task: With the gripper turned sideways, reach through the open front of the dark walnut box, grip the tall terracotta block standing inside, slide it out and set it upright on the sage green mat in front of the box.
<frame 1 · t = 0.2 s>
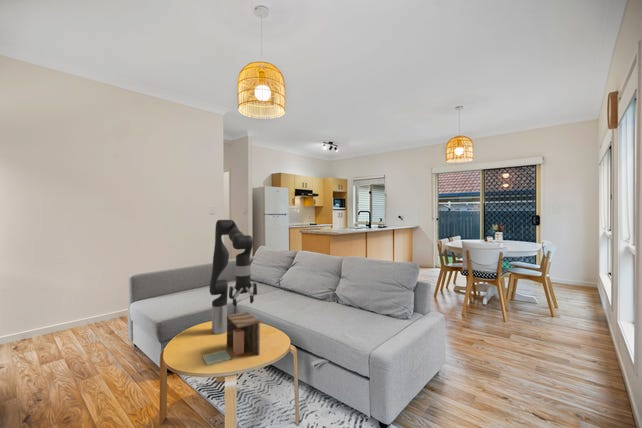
hand: (243, 304, 152), 28 cm above the table, tool pointing down, fingers open, 8 cm apart
terracotta block: (238, 352, 159), on the table
sage mat: (216, 357, 153), on the table
walnut box: (237, 352, 159), on the table
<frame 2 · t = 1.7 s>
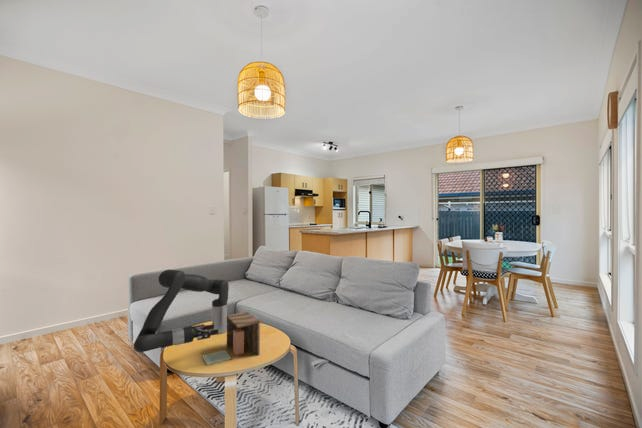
hand: (215, 328, 152), 16 cm above the table, tool horizontal, fingers open, 8 cm apart
nothing on the table moved.
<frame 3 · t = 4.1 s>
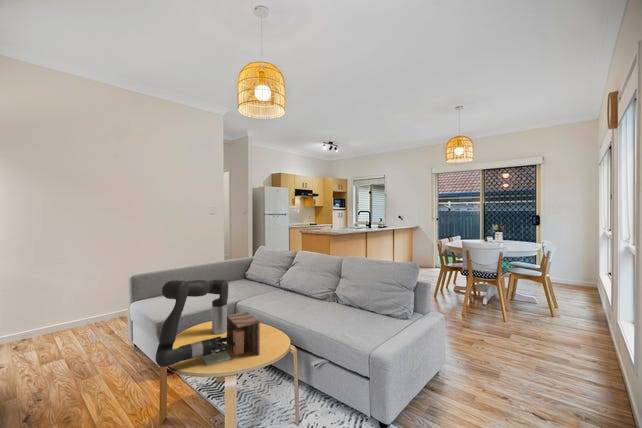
hand: (232, 341, 157), 7 cm above the table, tool horizontal, fingers open, 8 cm apart
nothing on the table moved.
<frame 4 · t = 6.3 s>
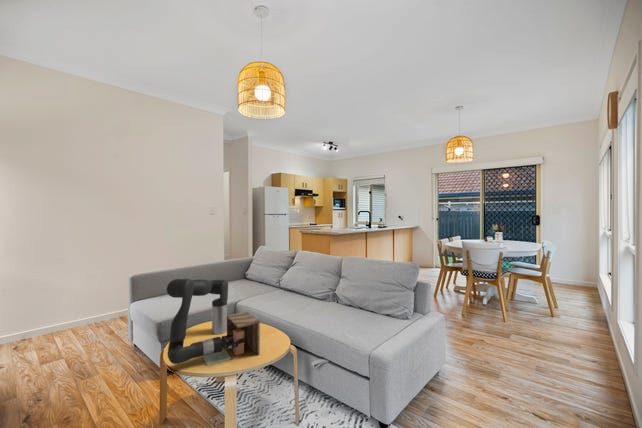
hand: (243, 338, 161), 7 cm above the table, tool horizontal, fingers closed on terracotta block, 4 cm apart
terracotta block: (238, 352, 159), on the table, touching gripper
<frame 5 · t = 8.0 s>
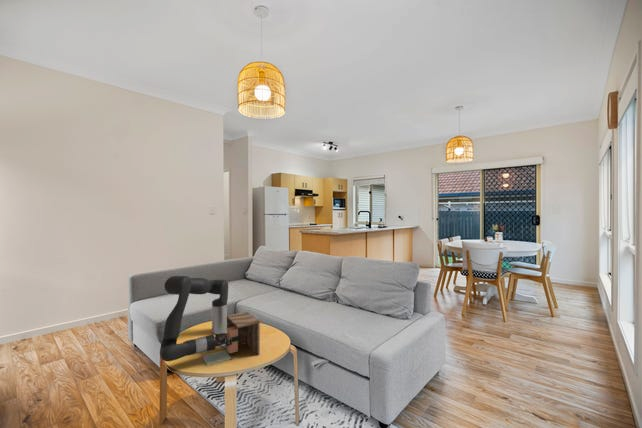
hand: (237, 336, 159), 9 cm above the table, tool horizontal, fingers closed on terracotta block, 4 cm apart
terracotta block: (232, 350, 157), point 2 cm above the table, touching gripper
when the fingers open (8 cm above the table, at t = 10.1 s): terracotta block stays where it is, resting on sage mat.
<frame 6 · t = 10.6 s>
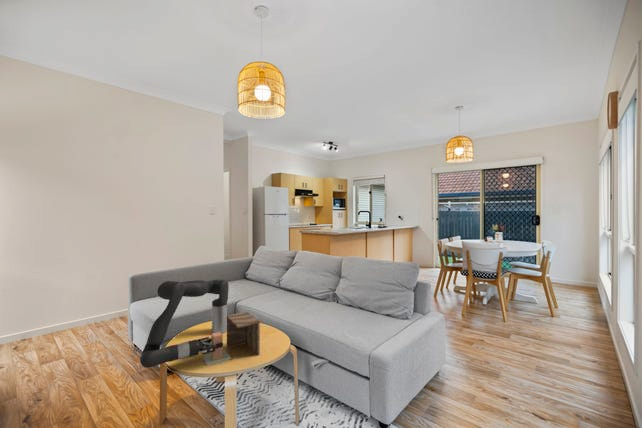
hand: (220, 341, 154), 8 cm above the table, tool horizontal, fingers open, 8 cm apart
terracotta block: (216, 357, 153), point 1 cm above the table, touching sage mat
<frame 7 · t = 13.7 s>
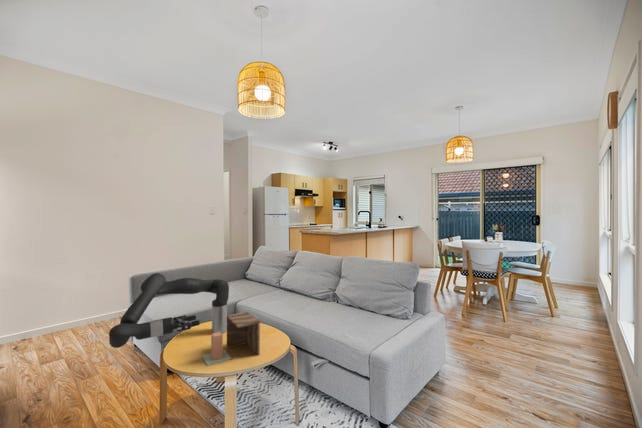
hand: (197, 319, 147), 22 cm above the table, tool horizontal, fingers open, 8 cm apart
nothing on the table moved.
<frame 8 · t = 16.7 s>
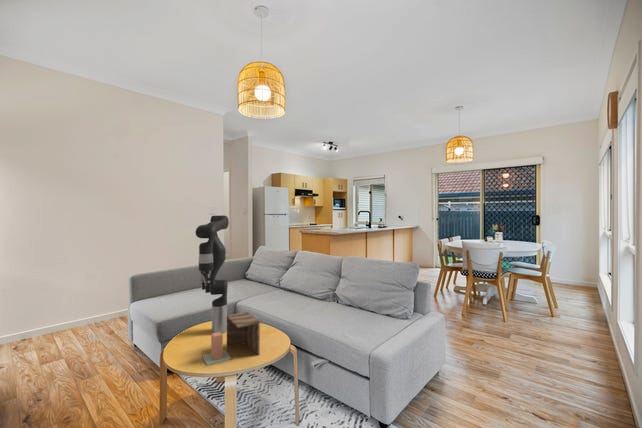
hand: (205, 291, 161), 33 cm above the table, tool pointing down, fingers open, 8 cm apart
nothing on the table moved.
at the end: terracotta block inside the target area on the sage mat (0.6 cm from its centre), point 0.6 cm above the sage mat's base; terracotta block tilted 0°; the gripper is holding nothing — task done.
